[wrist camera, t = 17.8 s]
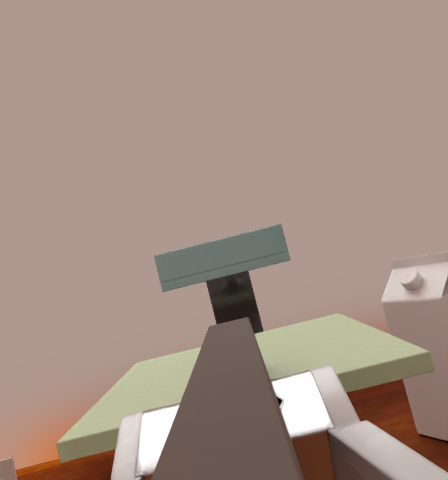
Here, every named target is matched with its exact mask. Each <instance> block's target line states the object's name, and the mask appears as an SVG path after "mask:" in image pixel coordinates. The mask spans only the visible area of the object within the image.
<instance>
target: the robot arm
mask: <svg viewBox="0 0 448 480" xmlns="http://www.w3.org/2000/svg"><path fill="white" fill-rule="evenodd" d="M271 383H272V386H273V389H274V392H275V395H276V398H277V400H278V403H279V406H280V409H281V412H282V415H283V418H284V421H285V423H286V426H287V429H288V432H289V435H290V438H291V441H292V444H293V446H294V449H295V452H296V455H297V458H298V461H299V464H300V467H301V469H302V472H303V475H304V478H305V480H448V473H447V472H446V471H444V470H443V469H441V468H440V467H438V466H437V465H435V464H433V463H432V462H430V461H429V460H427V459H426V458H424V457H423V456H421V455H420V454H418V453H417V452H415V451H414V450H412V449H410V448H409V447H407V446H406V445H404V444H403V443H401V442H400V441H398V440H397V439H395V438H394V437H392V436H390V435H389V434H387V433H386V432H384V431H383V430H381V429H380V428H378V427H377V426H375V425H374V424H372V423H370V422H369V421H362V422H360V420H359V418H358V416H357V414H356V412H355V410H354V408H353V406H352V404H351V402H350V400H349V398H348V396H347V394H346V392H345V390H344V388H343V386H342V384H341V382H340V380H339V378H338V376H337V374H336V372H335V370H334V368H333V367H332V366H331V365H326V366H322V367H318V368H314V369H311V370H310V371H309V370H306V371H302V372H299V373H295V374H291V375H287V376H283V377H279V378H276V379H272V380H271ZM179 405H180V403H176V404H172V405H167V406H163V407H158V408H154V409H149V410H144V411H142V412H137V413H133V414H128V415H124V416H123V418H122V420H121V422H120V426H119V432H118V438H117V444H116V450H115V457H114V463H113V469H112V475H111V480H151V478H152V476H153V473H154V470H155V468H156V465H157V462H158V460H159V457H160V455H161V452H162V449H163V447H164V444H165V441H166V439H167V436H168V434H169V431H170V428H171V426H172V423H173V420H174V418H175V415H176V413H177V410H178V407H179Z"/></svg>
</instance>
